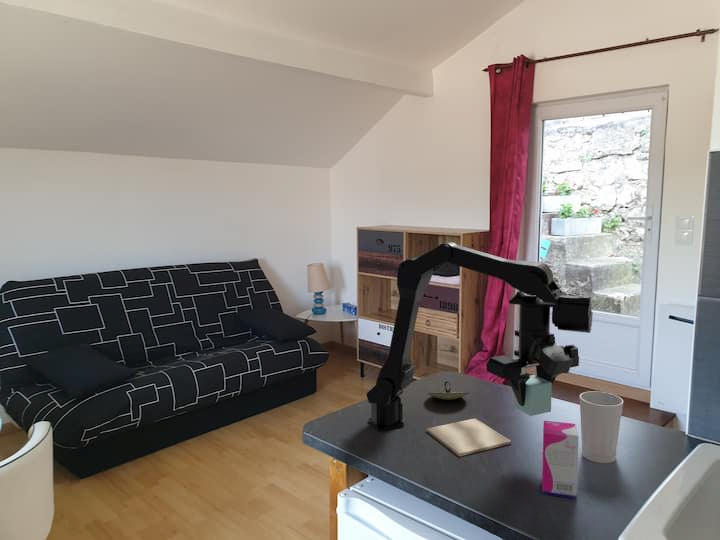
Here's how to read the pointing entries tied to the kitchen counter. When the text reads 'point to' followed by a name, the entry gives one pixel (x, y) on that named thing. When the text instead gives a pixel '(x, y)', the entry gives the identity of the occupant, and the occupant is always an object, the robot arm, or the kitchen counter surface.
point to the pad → (468, 437)
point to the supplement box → (560, 459)
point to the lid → (448, 394)
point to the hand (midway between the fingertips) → (532, 403)
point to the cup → (600, 425)
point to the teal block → (536, 396)
